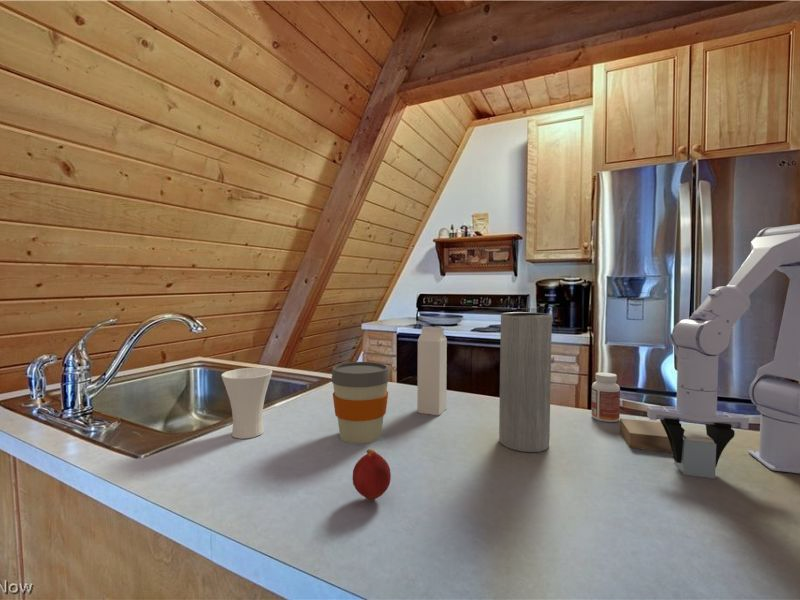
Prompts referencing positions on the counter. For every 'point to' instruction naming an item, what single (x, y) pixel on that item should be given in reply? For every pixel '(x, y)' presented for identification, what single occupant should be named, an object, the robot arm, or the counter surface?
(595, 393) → the pill bottle
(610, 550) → the counter surface
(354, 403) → the reusable coffee cup
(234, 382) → the cup
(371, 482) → the onion
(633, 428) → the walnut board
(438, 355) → the milk
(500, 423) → the vase
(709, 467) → the blue block cream face
